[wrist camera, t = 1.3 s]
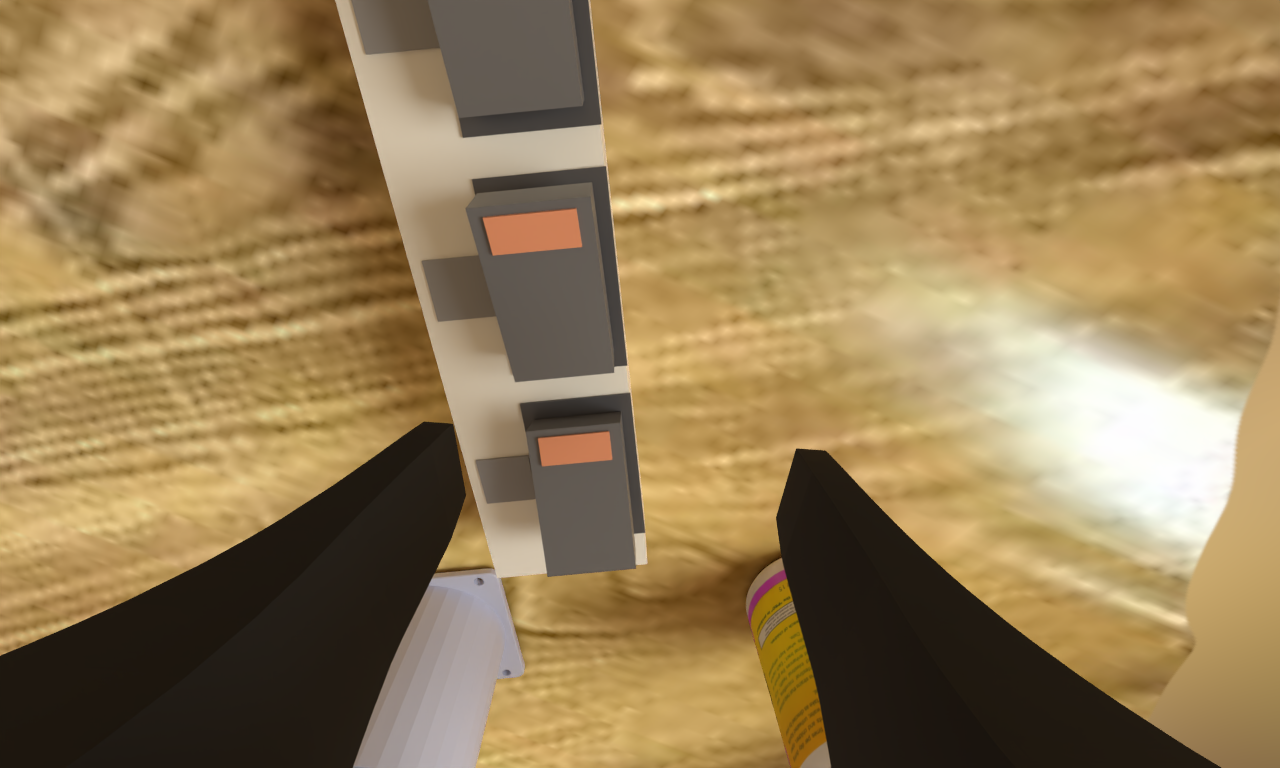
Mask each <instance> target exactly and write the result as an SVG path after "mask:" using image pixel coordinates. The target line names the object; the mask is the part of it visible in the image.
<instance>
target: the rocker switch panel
mask: <svg viewBox="0 0 1280 768" xmlns="http://www.w3.org/2000/svg"><path fill="white" fill-rule="evenodd" d="M335 2H336V5H337V9H338V12H339V16H340V19H341V23H342V26H343V30H344V34H345V37H346V41H347V44H348V48H349V51H350V55H351V59H352V62H353V66H354V69H355V73H356V76H357V80H358V83H359V87H360V91H361V94H362V98H363V101H364V105H365V108H366V112H367V116H368V119H369V123H370V126H371V130H372V133H373V137H374V140H375V144H376V148H377V151H378V155H379V158H380V162H381V165H382V169H383V173H384V176H385V180H386V183H387V187H388V190H389V194H390V197H391V201H392V205H393V208H394V212H395V215H396V219H397V222H398V226H399V230H400V233H401V237H402V240H403V244H404V247H405V251H406V254H407V258H408V262H409V265H410V269H411V272H412V276H413V279H414V283H415V287H416V290H417V294H418V297H419V301H420V304H421V308H422V311H423V315H424V319H425V322H426V326H427V329H428V333H429V336H430V340H431V344H432V347H433V351H434V354H435V358H436V361H437V365H438V368H439V372H440V376H441V379H442V383H443V386H444V390H445V393H446V397H447V401H448V404H449V408H450V411H451V415H452V418H453V422H454V426H455V429H456V433H457V436H458V440H459V443H460V447H461V450H462V454H463V458H464V461H465V465H466V468H467V472H468V475H469V479H470V483H471V486H472V490H473V493H474V497H475V500H476V504H477V507H478V511H479V515H480V518H481V522H482V525H483V529H484V532H485V536H486V540H487V543H488V547H489V550H490V554H491V557H492V561H493V564H494V568H495V572H496V575H497V578H503V577H514V576H525V575H535V574H546V573H547V570H546V563H545V557H544V550H543V544H542V537H541V530H540V524H539V517H538V510H537V504H536V497H535V491H534V484H533V477H532V471H531V464H530V457H529V451H528V444H527V438H526V430H527V429H528V427H529V426H530V425H531V423H532V422H533V420H537V419H548V418H558V417H569V416H579V415H590V414H600V413H611V412H621V414H622V424H623V433H624V443H625V452H626V462H627V471H628V481H629V490H630V499H631V509H632V518H633V528H634V537H635V547H636V565H642V564H647V549H646V534H645V519H644V507H643V497H642V488H641V478H640V469H639V459H638V450H637V440H636V431H635V421H634V412H633V403H632V393H631V384H630V374H629V365H628V355H627V346H626V336H625V327H624V318H623V308H622V299H621V289H620V280H619V270H618V261H617V251H616V242H615V233H614V223H613V214H612V204H611V195H610V185H609V176H608V166H607V157H606V147H605V138H604V129H603V119H602V110H601V100H600V91H599V81H598V72H597V62H596V53H595V44H594V34H593V25H592V15H591V6H590V0H572V5H573V13H574V21H575V29H576V37H577V44H578V52H579V60H580V68H581V76H582V84H583V92H584V102H583V106H577V107H567V108H556V109H546V110H536V111H526V112H515V113H505V114H495V115H484V116H474V117H464V118H459V117H458V113H457V109H456V106H455V102H454V98H453V94H452V91H451V87H450V83H449V79H448V76H447V72H446V68H445V64H444V60H443V57H442V53H441V49H440V45H439V42H438V38H437V34H436V30H435V27H434V23H433V19H432V15H431V12H430V8H429V4H428V0H335ZM589 182H592V186H593V194H594V201H595V209H596V217H597V224H598V232H599V239H600V247H601V255H602V262H603V270H604V278H605V285H606V293H607V301H608V308H609V316H610V324H611V331H612V339H613V346H614V373H608V374H597V375H587V376H576V377H566V378H555V379H545V380H534V381H524V382H515V380H514V377H513V373H512V370H511V366H510V363H509V359H508V356H507V352H506V349H505V345H504V342H503V338H502V335H501V331H500V328H499V324H498V321H497V317H496V314H495V310H494V307H493V303H492V300H491V297H490V293H489V290H488V286H487V283H486V279H485V276H484V272H483V269H482V265H481V262H480V258H479V255H478V251H477V248H476V244H475V241H474V237H473V234H472V230H471V227H470V223H469V220H468V216H467V213H466V209H465V208H466V207H467V206H468V204H469V203H470V202H471V201H472V199H473V198H474V197H475V195H476V194H477V193H485V192H496V191H506V190H516V189H527V188H537V187H547V186H558V185H568V184H578V183H589Z"/></svg>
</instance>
